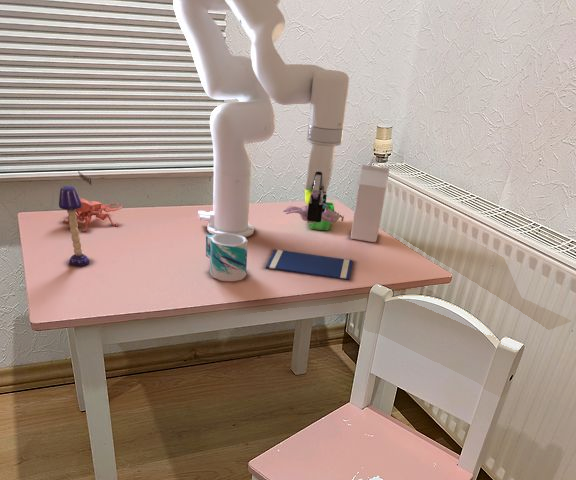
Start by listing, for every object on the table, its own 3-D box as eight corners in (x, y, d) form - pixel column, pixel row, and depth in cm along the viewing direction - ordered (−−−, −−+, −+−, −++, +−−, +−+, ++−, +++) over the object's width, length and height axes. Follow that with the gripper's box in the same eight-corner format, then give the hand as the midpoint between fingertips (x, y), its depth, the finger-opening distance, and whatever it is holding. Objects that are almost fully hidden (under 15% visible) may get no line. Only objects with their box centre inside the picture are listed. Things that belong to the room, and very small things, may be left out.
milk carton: (375, 243, 158) (388, 171, 147) (350, 239, 159) (361, 167, 148) (377, 234, 164) (390, 165, 153) (353, 231, 165) (363, 161, 154)
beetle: (74, 233, 144) (67, 182, 137) (57, 218, 152) (51, 169, 145) (130, 226, 152) (127, 177, 145) (112, 212, 160) (108, 165, 153)
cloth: (265, 268, 137) (265, 266, 136) (274, 250, 147) (274, 249, 146) (349, 280, 135) (349, 278, 135) (352, 261, 145) (352, 260, 145)
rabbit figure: (332, 222, 140) (277, 215, 133) (339, 198, 137) (283, 189, 130) (344, 231, 136) (288, 224, 129) (351, 205, 133) (294, 197, 126)
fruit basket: (332, 232, 162) (338, 192, 156) (301, 229, 162) (305, 189, 155) (331, 219, 171) (336, 181, 165) (301, 217, 171) (305, 178, 165)
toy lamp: (68, 267, 127) (58, 191, 118) (65, 259, 131) (54, 184, 122) (91, 265, 130) (82, 190, 120) (86, 257, 133) (78, 183, 124)
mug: (221, 283, 127) (222, 247, 123) (195, 264, 135) (195, 229, 130) (252, 277, 132) (254, 242, 127) (225, 258, 139) (226, 225, 135)
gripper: (312, 126, 132) (305, 203, 142) (302, 140, 118) (294, 225, 127) (345, 130, 131) (335, 207, 141) (338, 144, 117) (328, 229, 127)
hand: (316, 215), depth 134 cm, fingers closed on rabbit figure, 7 cm apart
